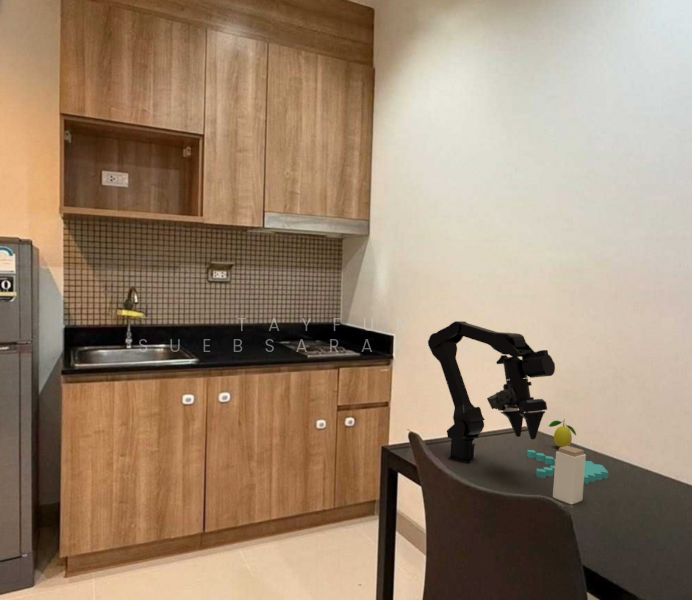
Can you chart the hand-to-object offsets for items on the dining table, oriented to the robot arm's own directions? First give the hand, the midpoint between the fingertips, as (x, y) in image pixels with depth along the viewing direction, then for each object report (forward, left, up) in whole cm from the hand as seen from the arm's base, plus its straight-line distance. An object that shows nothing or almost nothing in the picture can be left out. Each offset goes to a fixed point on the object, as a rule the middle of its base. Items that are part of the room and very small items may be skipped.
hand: (525, 437), depth 141 cm
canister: (+11, -6, -12) cm, 17 cm away
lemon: (+7, +40, -12) cm, 43 cm away
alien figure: (+10, +18, -12) cm, 25 cm away
